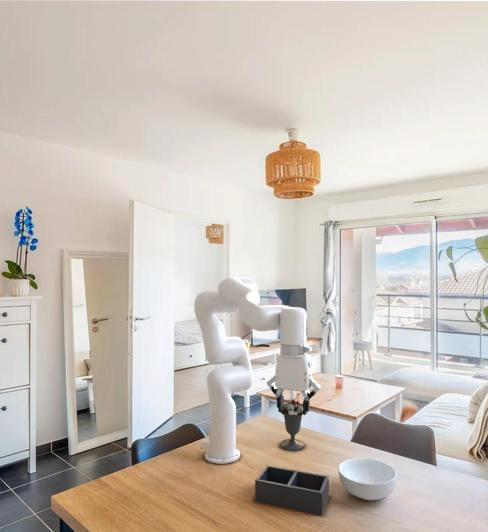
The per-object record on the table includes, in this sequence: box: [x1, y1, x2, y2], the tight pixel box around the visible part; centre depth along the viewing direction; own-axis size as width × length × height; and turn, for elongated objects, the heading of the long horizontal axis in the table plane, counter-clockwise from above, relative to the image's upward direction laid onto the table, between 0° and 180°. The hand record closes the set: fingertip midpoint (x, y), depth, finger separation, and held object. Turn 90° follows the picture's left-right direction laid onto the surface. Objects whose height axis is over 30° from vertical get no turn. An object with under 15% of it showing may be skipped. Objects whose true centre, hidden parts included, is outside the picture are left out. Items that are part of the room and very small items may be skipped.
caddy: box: [254, 464, 330, 517], centre depth 116 cm, size 10×19×6 cm, turn 69°
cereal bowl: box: [338, 457, 398, 501], centre depth 120 cm, size 17×17×7 cm
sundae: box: [280, 393, 303, 452], centre depth 116 cm, size 7×7×15 cm
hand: (293, 411), depth 116 cm, fingers closed on sundae, 6 cm apart
